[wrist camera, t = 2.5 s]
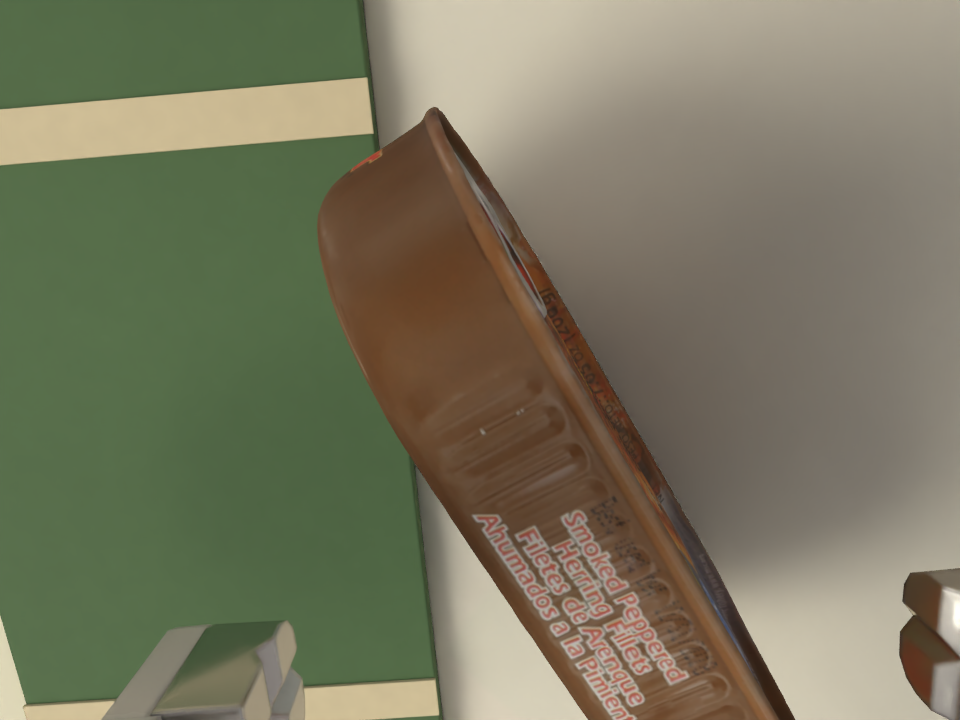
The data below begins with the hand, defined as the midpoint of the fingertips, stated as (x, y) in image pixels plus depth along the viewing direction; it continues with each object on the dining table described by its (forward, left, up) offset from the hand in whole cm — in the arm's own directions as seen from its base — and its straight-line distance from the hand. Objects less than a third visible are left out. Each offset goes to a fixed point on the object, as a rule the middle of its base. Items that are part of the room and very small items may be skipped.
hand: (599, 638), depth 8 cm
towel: (+9, 0, -9) cm, 13 cm away
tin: (-1, 0, -9) cm, 9 cm away
